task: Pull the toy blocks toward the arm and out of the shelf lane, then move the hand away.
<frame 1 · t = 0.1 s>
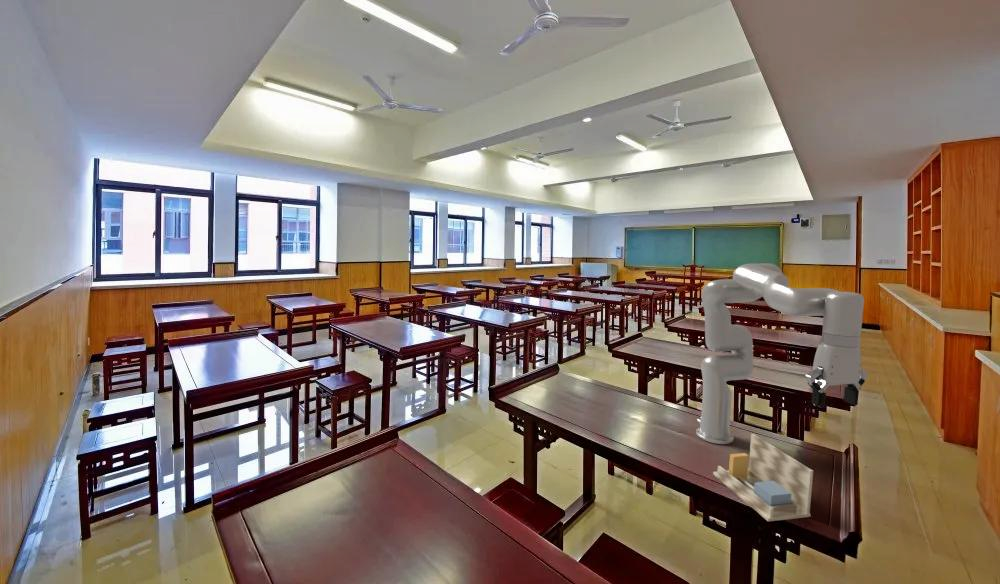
hand: (834, 404, 106), 31 cm above the table, fingers open, 9 cm apart
shelf lane: (769, 506, 113), on the table
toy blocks: (757, 480, 117), point 5 cm above the table, slide at 0.0 cm
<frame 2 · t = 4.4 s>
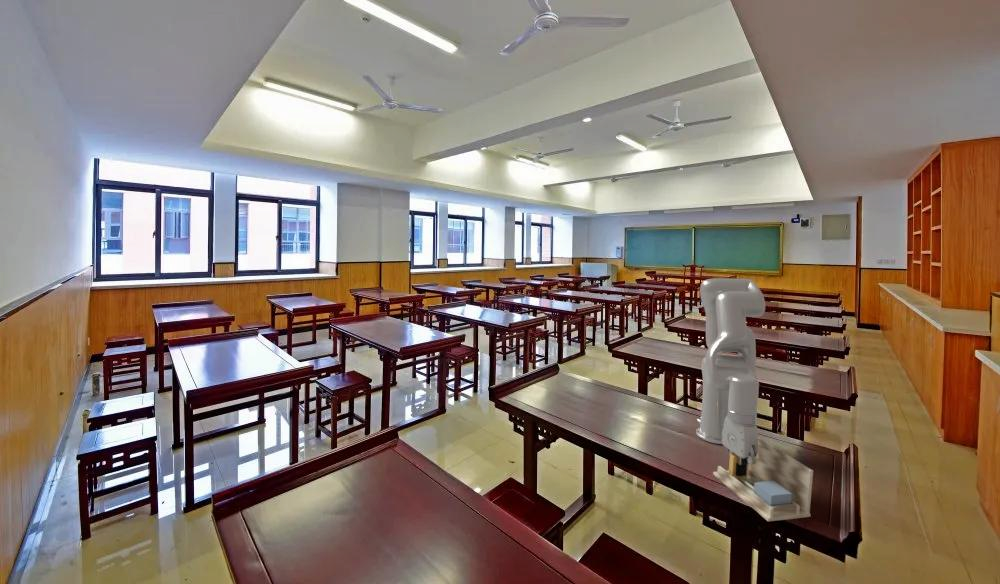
hand: (738, 472, 125), 3 cm above the table, fingers closed on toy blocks
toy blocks: (757, 480, 117), point 5 cm above the table, slide at 0.0 cm, touching gripper
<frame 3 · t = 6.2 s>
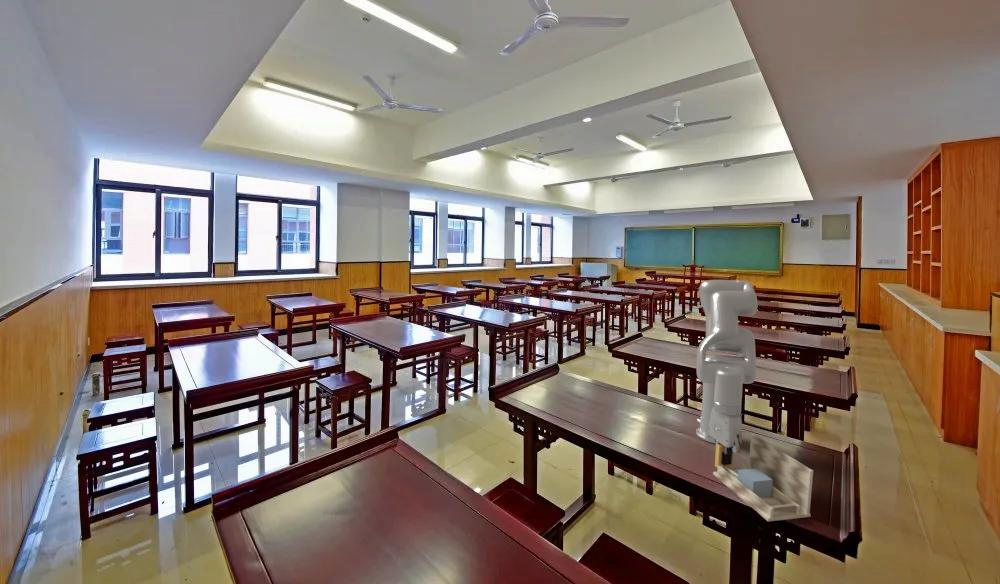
hand: (723, 461, 131), 3 cm above the table, fingers closed on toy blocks
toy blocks: (741, 468, 123), point 5 cm above the table, slide at 6.4 cm, touching gripper
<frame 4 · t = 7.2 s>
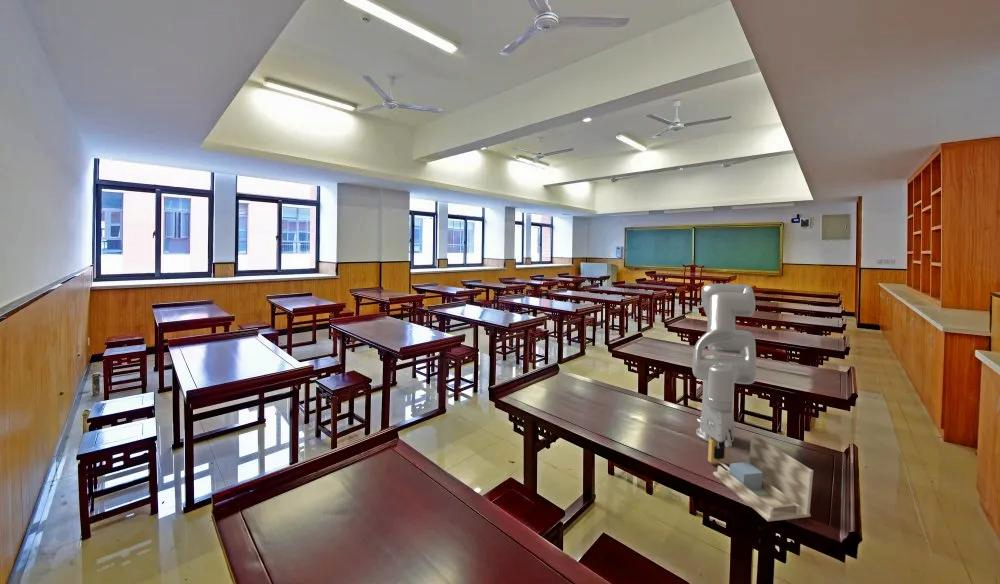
hand: (716, 456, 134), 3 cm above the table, fingers closed on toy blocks
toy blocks: (733, 462, 127), point 5 cm above the table, slide at 10.0 cm, touching gripper
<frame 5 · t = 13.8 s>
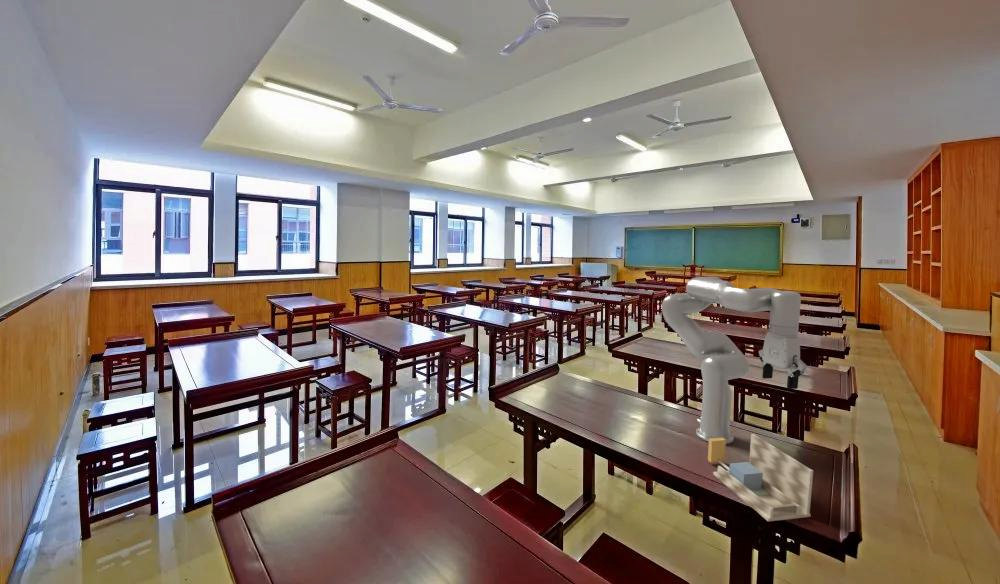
hand: (779, 383, 129), 28 cm above the table, fingers open, 9 cm apart
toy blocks: (732, 462, 127), point 5 cm above the table, slide at 10.0 cm
at the end: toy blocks slide at 10.0 cm; the gripper is holding nothing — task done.
